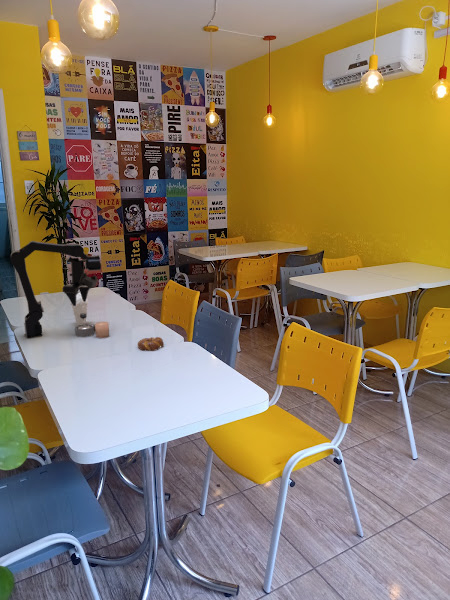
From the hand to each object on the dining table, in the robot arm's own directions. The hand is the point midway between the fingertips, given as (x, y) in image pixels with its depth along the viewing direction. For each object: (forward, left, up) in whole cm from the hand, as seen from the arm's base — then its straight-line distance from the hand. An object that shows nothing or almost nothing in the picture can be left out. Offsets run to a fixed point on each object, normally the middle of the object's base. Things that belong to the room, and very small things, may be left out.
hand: (79, 303), depth 212 cm
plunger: (-1, -8, -10) cm, 13 cm away
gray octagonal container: (0, -8, -13) cm, 15 cm away
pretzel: (+17, -41, -14) cm, 46 cm away
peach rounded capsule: (+5, -15, -13) cm, 20 cm away
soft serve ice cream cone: (+3, +10, -13) cm, 17 cm away
